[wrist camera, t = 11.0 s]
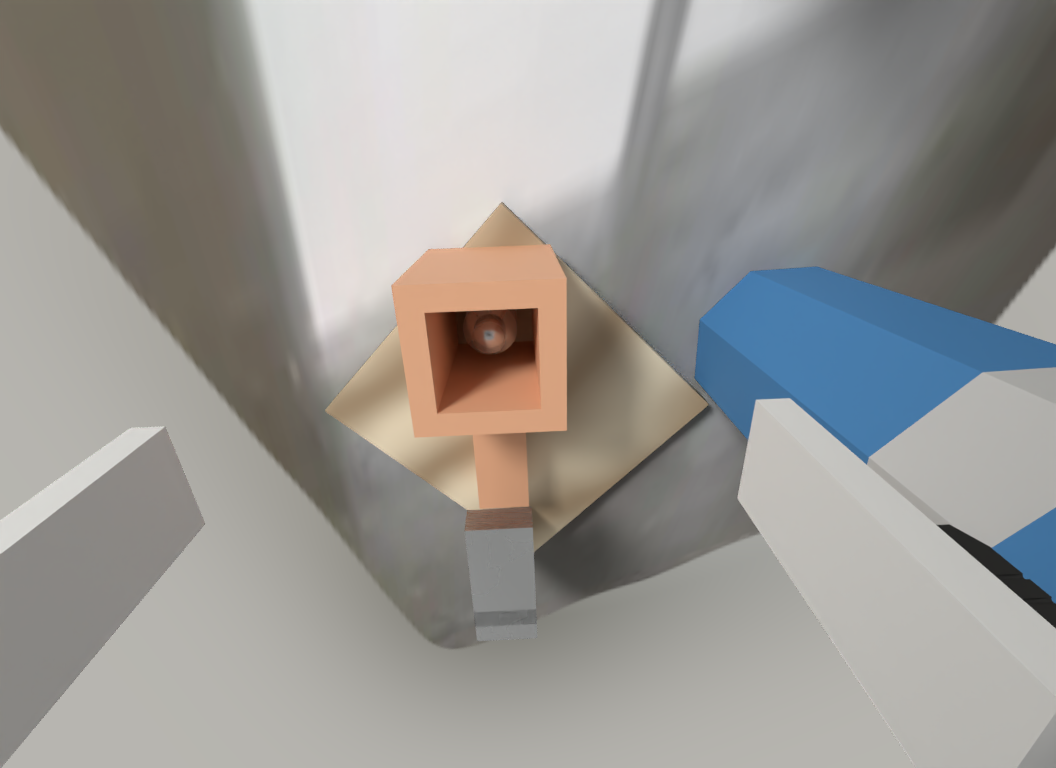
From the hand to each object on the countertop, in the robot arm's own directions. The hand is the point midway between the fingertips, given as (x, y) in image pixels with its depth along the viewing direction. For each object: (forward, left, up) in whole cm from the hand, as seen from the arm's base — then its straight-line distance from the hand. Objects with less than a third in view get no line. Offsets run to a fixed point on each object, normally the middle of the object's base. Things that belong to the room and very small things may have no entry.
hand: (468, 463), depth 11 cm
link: (+3, -3, -15) cm, 16 cm away
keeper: (+8, -8, -16) cm, 20 cm away
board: (+5, -4, -16) cm, 18 cm away
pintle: (0, 0, -15) cm, 15 cm away
